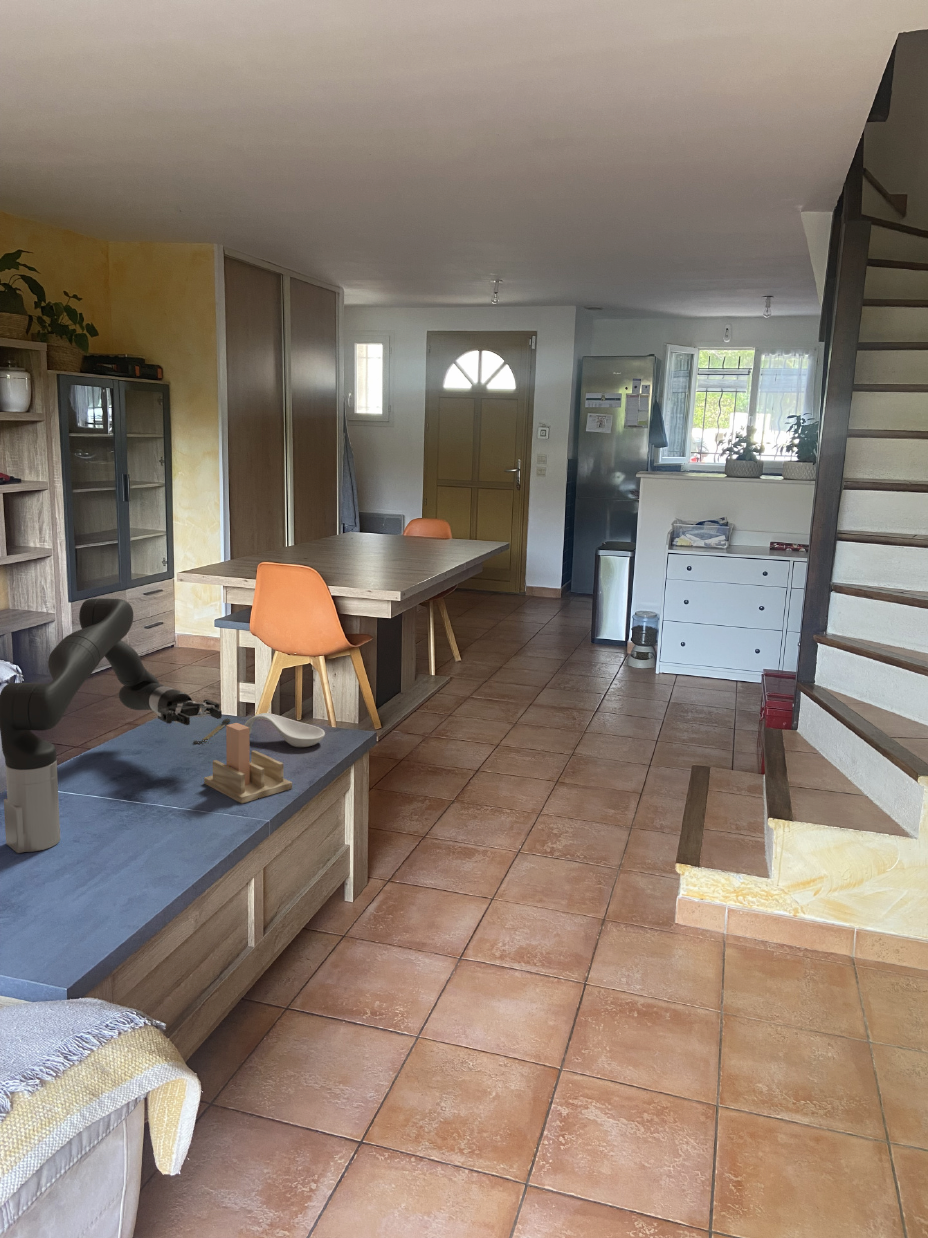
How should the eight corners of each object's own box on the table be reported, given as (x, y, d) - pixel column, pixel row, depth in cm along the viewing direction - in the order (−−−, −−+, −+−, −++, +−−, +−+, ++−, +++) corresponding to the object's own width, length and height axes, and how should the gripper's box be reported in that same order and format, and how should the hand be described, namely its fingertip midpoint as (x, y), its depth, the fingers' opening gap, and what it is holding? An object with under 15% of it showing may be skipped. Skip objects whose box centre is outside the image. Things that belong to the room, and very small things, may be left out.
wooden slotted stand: (241, 803, 207) (241, 778, 206) (204, 783, 217) (204, 759, 216) (292, 788, 217) (292, 764, 216) (253, 769, 228) (253, 747, 226)
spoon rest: (331, 740, 253) (331, 715, 251) (314, 754, 242) (314, 728, 240) (253, 730, 258) (253, 706, 257) (233, 743, 247) (233, 718, 246)
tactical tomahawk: (215, 750, 243) (215, 746, 243) (192, 745, 244) (192, 741, 244) (246, 725, 264) (246, 721, 263) (224, 721, 265) (224, 717, 264)
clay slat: (238, 787, 212) (238, 730, 209) (226, 781, 215) (226, 725, 213) (249, 784, 214) (249, 727, 212) (237, 778, 218) (237, 722, 215)
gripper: (143, 693, 224) (177, 707, 213) (195, 684, 234) (230, 698, 223) (144, 722, 225) (177, 738, 214) (195, 712, 236) (230, 727, 225)
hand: (204, 717), depth 219 cm, fingers open, 8 cm apart
